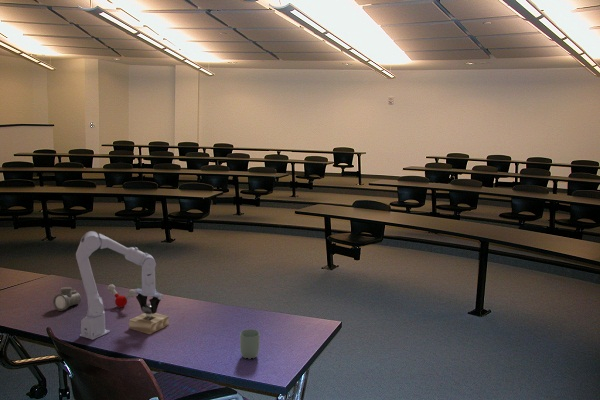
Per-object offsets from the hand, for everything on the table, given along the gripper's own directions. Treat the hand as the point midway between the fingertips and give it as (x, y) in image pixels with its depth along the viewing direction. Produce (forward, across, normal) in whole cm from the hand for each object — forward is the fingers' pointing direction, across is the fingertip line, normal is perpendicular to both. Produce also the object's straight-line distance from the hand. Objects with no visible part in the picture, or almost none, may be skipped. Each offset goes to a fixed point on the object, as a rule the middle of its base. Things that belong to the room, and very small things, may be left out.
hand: (149, 311), depth 235 cm
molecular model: (+7, +28, -11) cm, 31 cm away
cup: (+7, -54, +2) cm, 55 cm away
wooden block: (+7, 0, 0) cm, 7 cm away
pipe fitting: (+7, +49, +2) cm, 50 cm away
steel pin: (+3, 0, 0) cm, 3 cm away
